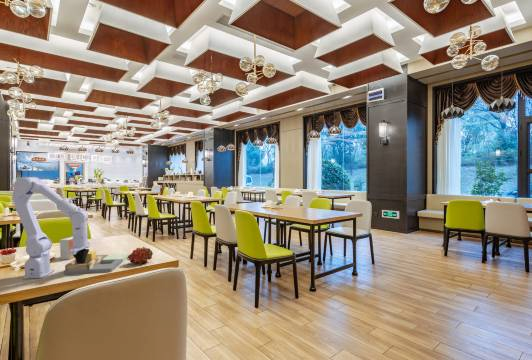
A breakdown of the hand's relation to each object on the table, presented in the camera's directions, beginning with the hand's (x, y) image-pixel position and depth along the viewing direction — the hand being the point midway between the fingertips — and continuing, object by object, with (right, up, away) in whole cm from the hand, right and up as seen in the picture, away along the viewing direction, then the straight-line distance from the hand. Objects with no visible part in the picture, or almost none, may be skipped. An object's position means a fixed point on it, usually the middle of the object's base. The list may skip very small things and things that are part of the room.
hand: (81, 265), depth 136 cm
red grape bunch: (+23, -2, +11) cm, 25 cm away
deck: (+3, -2, +9) cm, 10 cm away
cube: (-1, -1, +7) cm, 7 cm away
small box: (-19, -2, +22) cm, 30 cm away
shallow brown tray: (-1, -1, +4) cm, 4 cm away
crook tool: (+16, -1, +22) cm, 27 cm away
